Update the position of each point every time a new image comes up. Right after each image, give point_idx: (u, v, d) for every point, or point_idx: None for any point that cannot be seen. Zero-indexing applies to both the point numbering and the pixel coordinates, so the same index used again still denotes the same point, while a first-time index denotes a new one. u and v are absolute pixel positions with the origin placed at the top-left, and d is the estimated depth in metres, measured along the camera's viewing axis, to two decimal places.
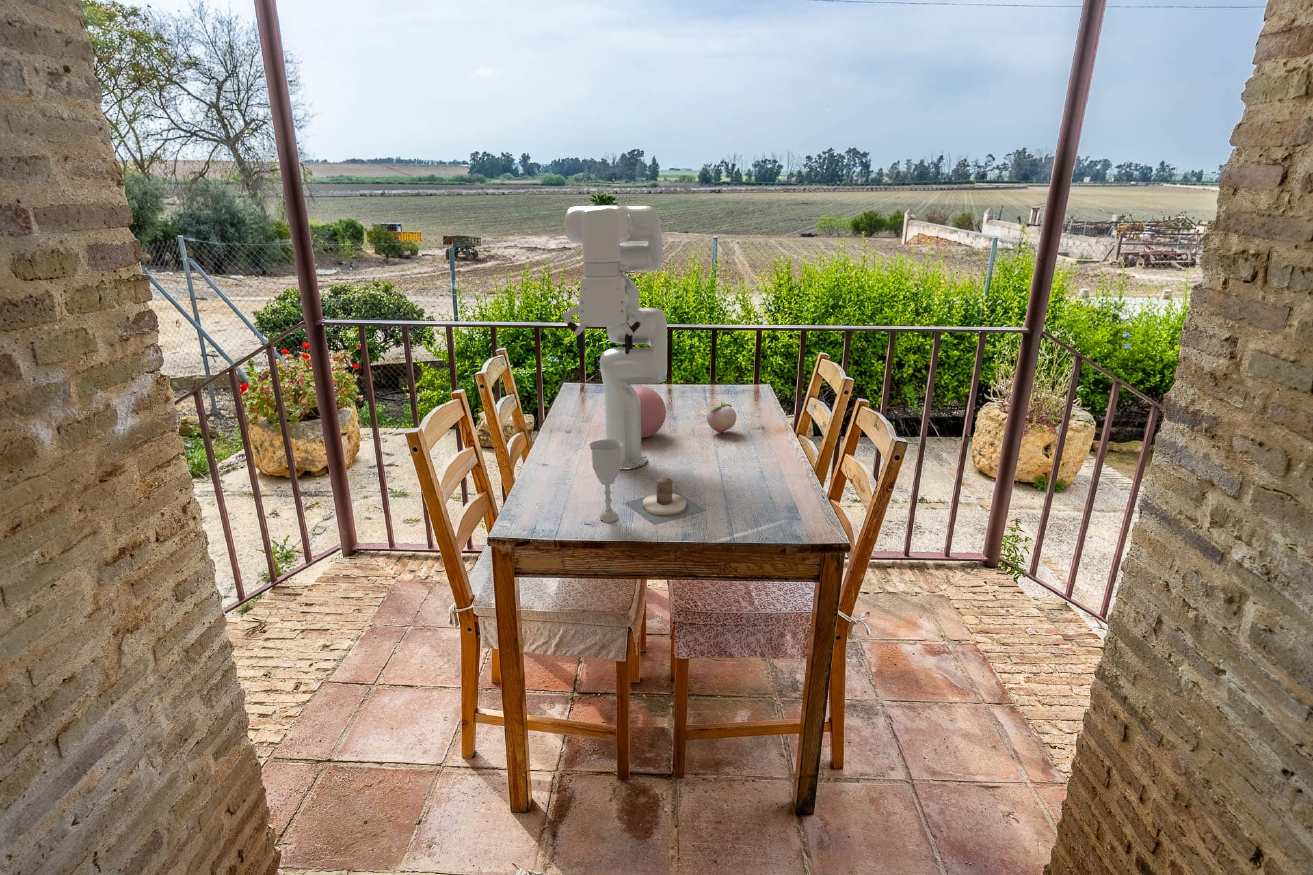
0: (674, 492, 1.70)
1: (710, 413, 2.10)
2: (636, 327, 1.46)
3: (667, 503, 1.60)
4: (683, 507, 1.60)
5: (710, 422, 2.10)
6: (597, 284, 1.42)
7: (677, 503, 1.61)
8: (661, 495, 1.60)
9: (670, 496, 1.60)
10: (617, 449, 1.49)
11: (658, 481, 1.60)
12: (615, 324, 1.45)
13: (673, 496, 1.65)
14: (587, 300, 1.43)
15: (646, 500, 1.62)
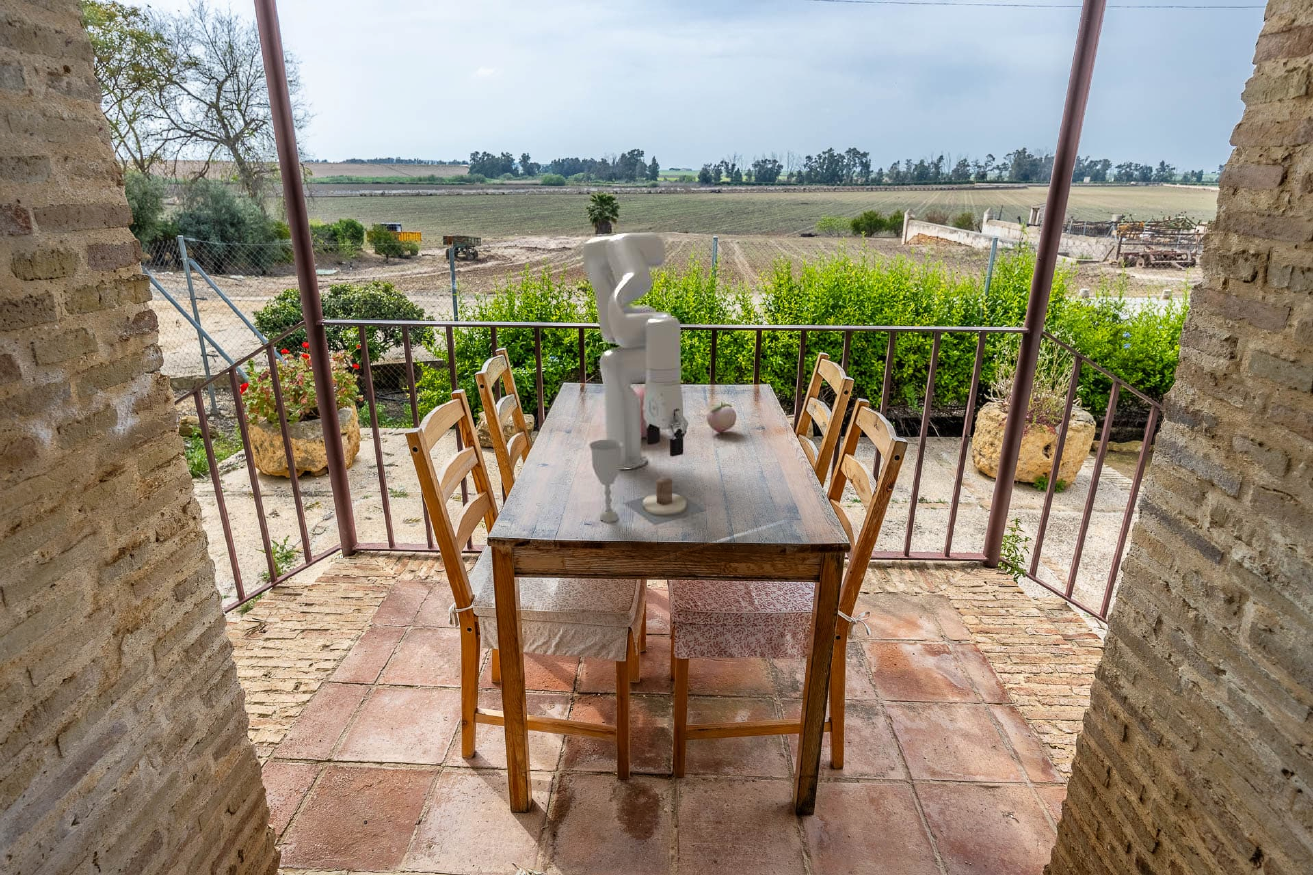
0: (674, 492, 1.70)
1: (710, 413, 2.10)
2: None
3: (667, 503, 1.60)
4: (683, 507, 1.60)
5: (710, 422, 2.10)
6: None
7: (677, 503, 1.61)
8: (661, 495, 1.60)
9: (670, 496, 1.60)
10: (617, 449, 1.49)
11: (658, 481, 1.60)
12: None
13: (673, 496, 1.65)
14: None
15: (646, 500, 1.62)
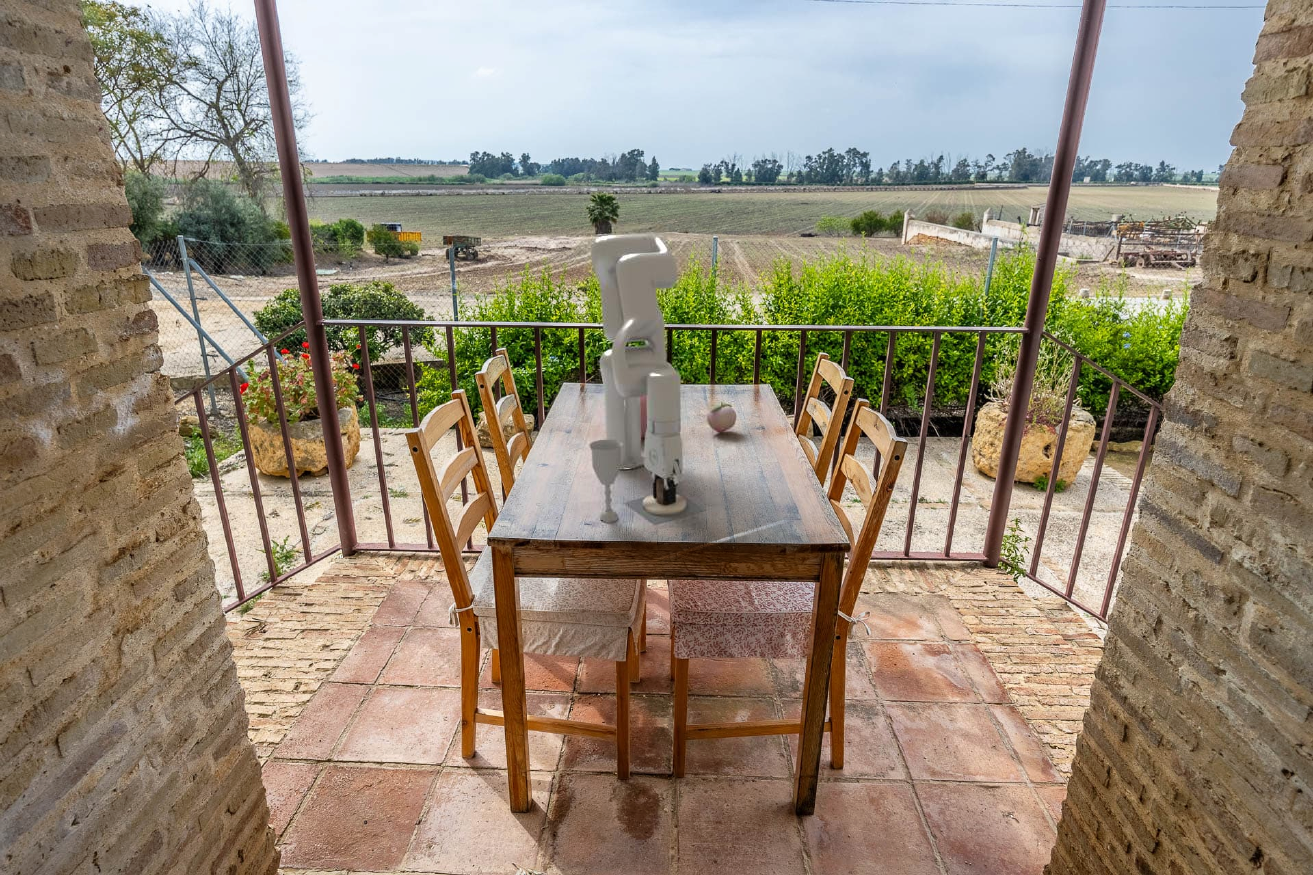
0: None
1: (710, 413, 2.10)
2: None
3: None
4: (683, 507, 1.60)
5: (710, 422, 2.10)
6: None
7: (677, 503, 1.61)
8: (661, 495, 1.60)
9: None
10: (617, 449, 1.49)
11: (658, 481, 1.60)
12: None
13: None
14: None
15: (646, 500, 1.62)
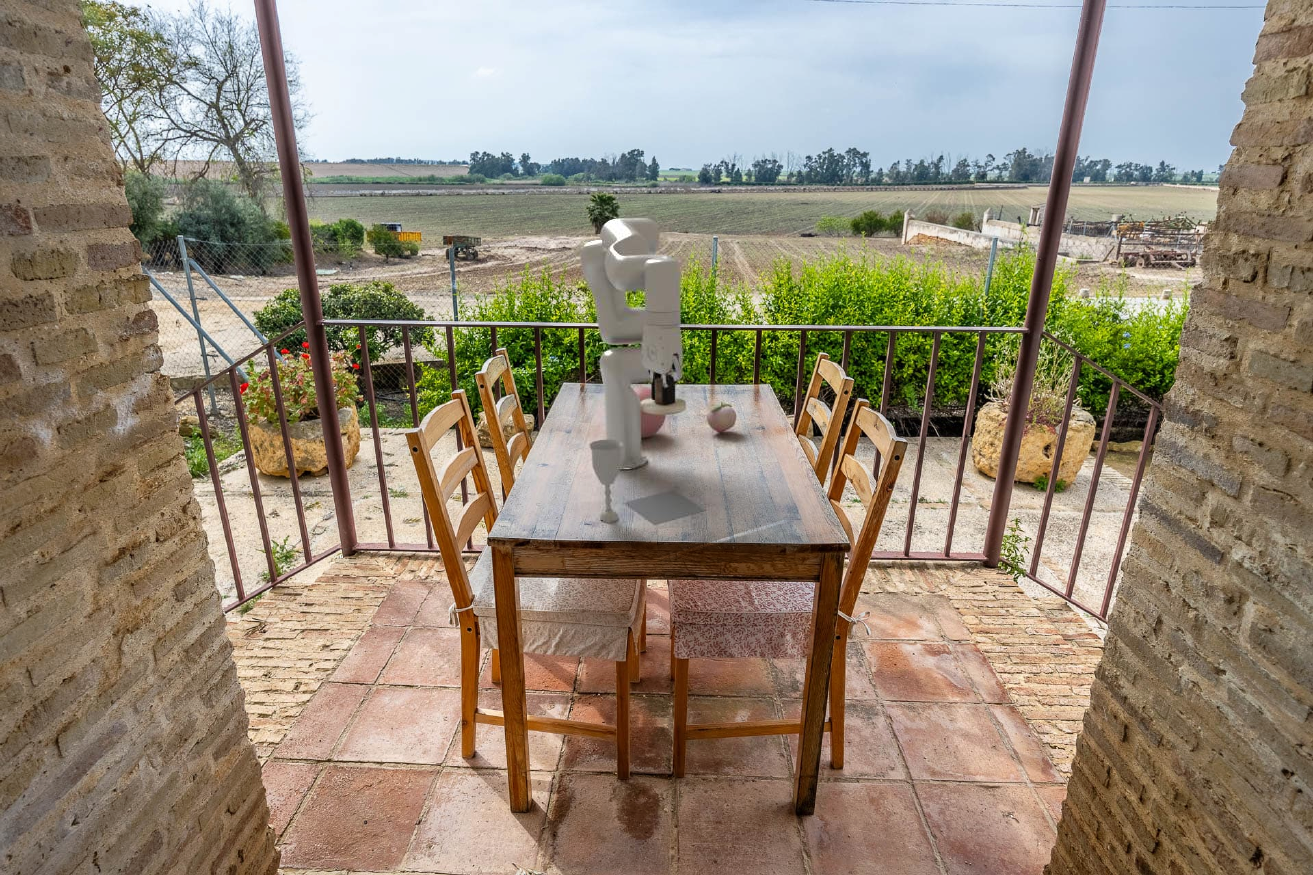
0: (674, 492, 1.70)
1: (710, 413, 2.10)
2: None
3: None
4: (683, 407, 1.52)
5: (710, 422, 2.10)
6: None
7: (677, 404, 1.53)
8: (659, 394, 1.52)
9: None
10: (617, 449, 1.49)
11: (656, 380, 1.52)
12: None
13: None
14: None
15: (644, 402, 1.55)
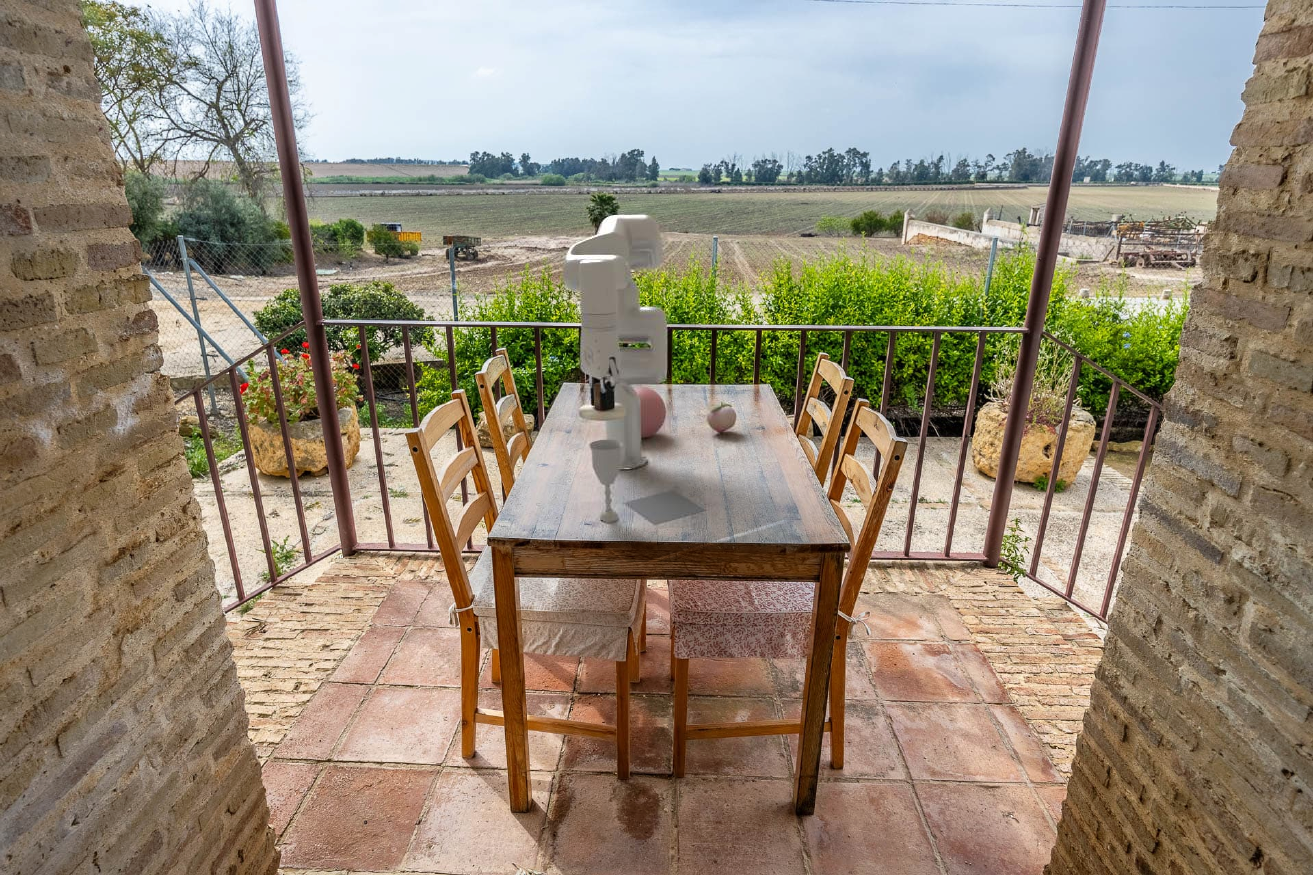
0: (674, 492, 1.70)
1: (710, 413, 2.10)
2: None
3: None
4: (622, 413, 1.47)
5: (710, 422, 2.10)
6: None
7: (616, 410, 1.48)
8: (598, 400, 1.46)
9: None
10: (617, 449, 1.49)
11: (595, 385, 1.47)
12: None
13: None
14: None
15: (583, 408, 1.49)
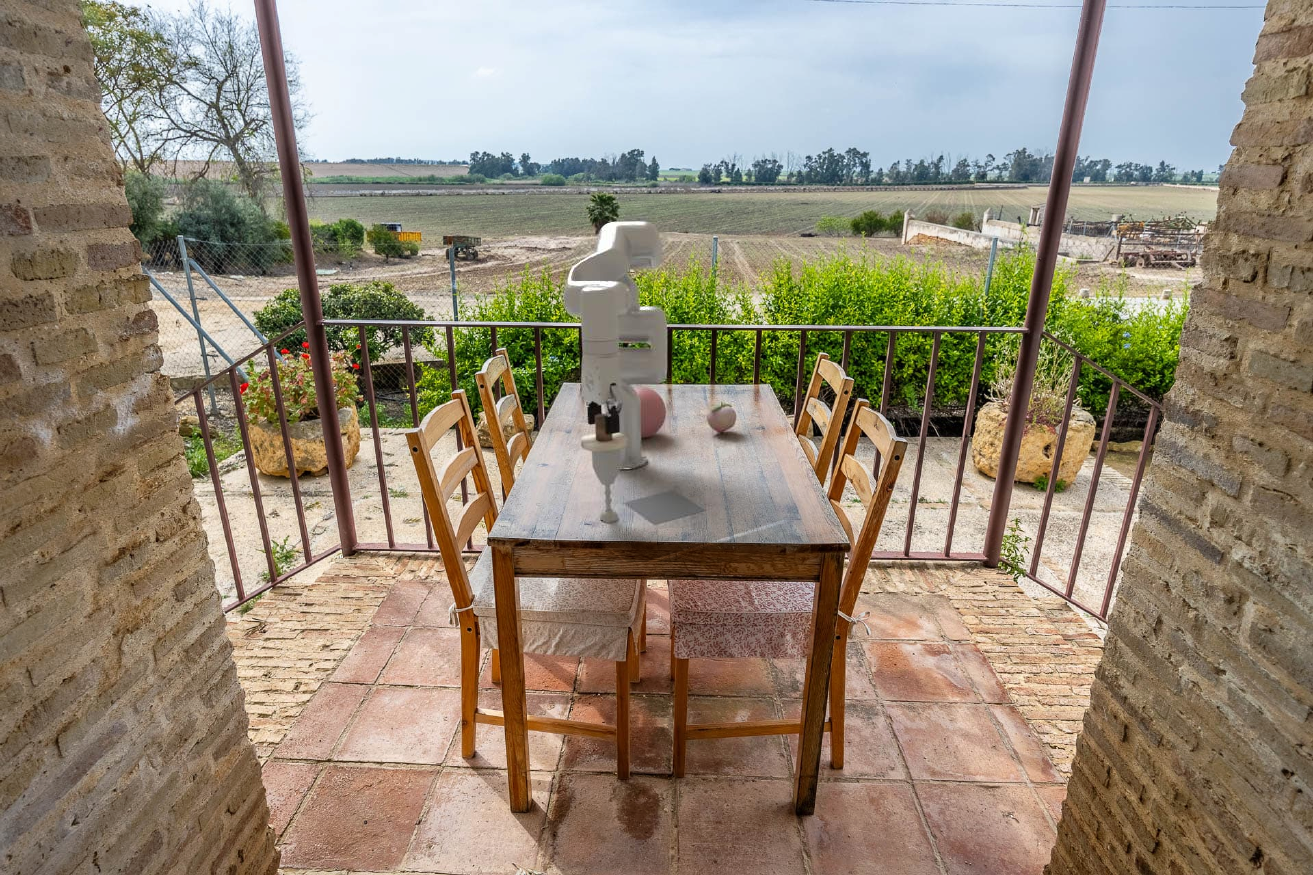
0: (674, 492, 1.70)
1: (710, 413, 2.10)
2: None
3: (606, 440, 1.49)
4: (623, 444, 1.49)
5: (710, 422, 2.10)
6: None
7: (618, 440, 1.50)
8: (599, 431, 1.49)
9: None
10: None
11: (596, 416, 1.49)
12: None
13: (614, 434, 1.54)
14: None
15: (585, 438, 1.52)
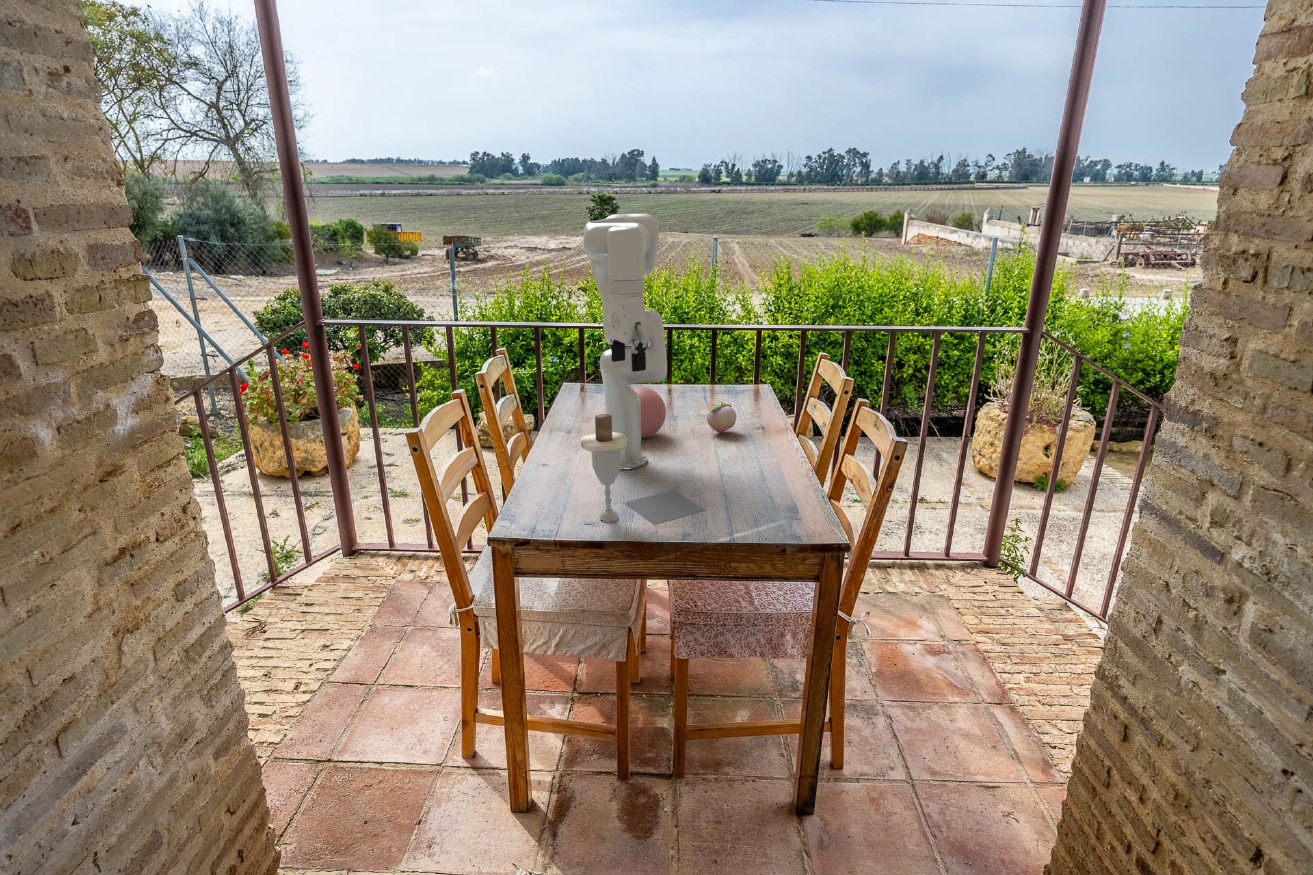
0: (674, 492, 1.70)
1: (710, 413, 2.10)
2: None
3: (606, 440, 1.49)
4: (623, 444, 1.49)
5: (710, 422, 2.10)
6: None
7: (617, 440, 1.50)
8: (599, 431, 1.49)
9: (609, 432, 1.49)
10: None
11: (596, 416, 1.49)
12: None
13: (614, 434, 1.54)
14: None
15: (584, 438, 1.52)
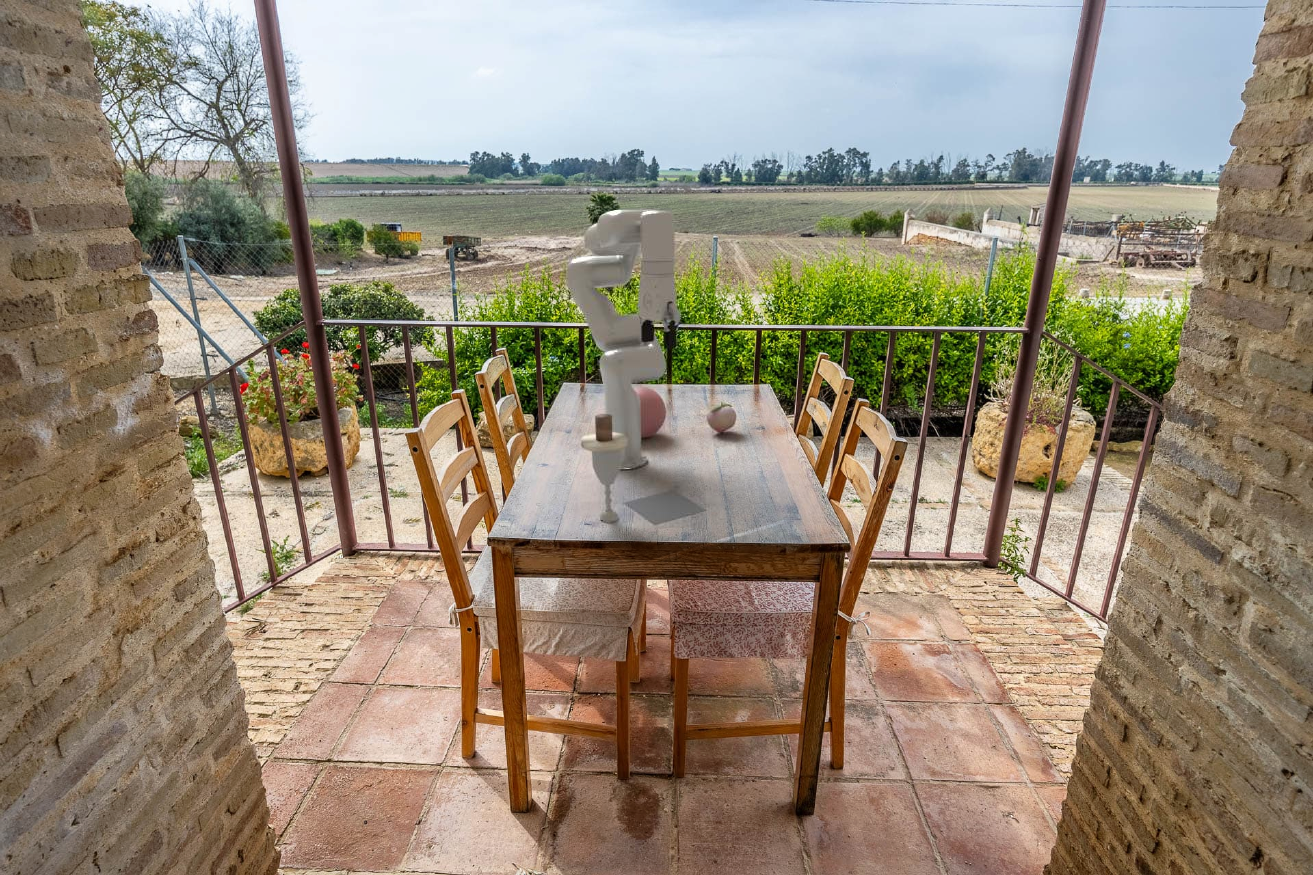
0: (674, 492, 1.70)
1: (710, 413, 2.10)
2: None
3: (606, 440, 1.49)
4: (623, 444, 1.49)
5: (710, 422, 2.10)
6: None
7: (618, 440, 1.50)
8: (599, 431, 1.49)
9: (610, 432, 1.49)
10: None
11: (597, 416, 1.49)
12: None
13: (614, 434, 1.54)
14: None
15: (585, 438, 1.52)
